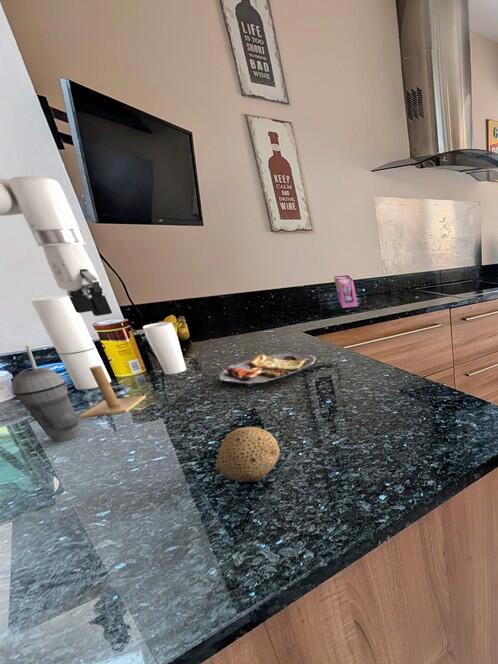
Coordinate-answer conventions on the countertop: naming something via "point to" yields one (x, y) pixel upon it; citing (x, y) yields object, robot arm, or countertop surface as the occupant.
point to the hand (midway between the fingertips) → (94, 313)
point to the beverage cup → (47, 401)
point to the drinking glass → (165, 346)
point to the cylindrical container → (70, 339)
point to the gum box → (345, 291)
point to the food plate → (266, 368)
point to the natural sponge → (247, 454)
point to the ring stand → (109, 397)
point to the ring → (89, 399)
